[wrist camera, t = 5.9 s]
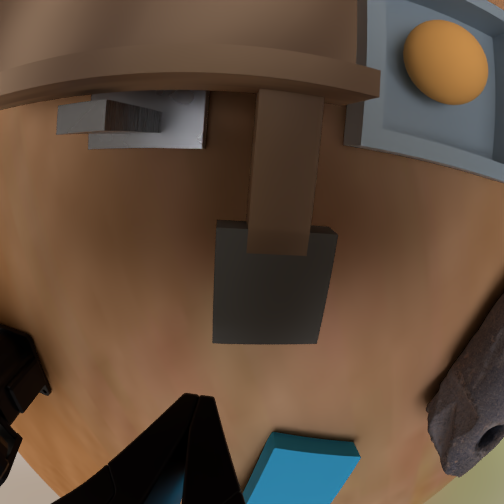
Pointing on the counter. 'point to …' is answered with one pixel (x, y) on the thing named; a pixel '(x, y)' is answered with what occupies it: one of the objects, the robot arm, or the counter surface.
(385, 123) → the bin
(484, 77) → the ball
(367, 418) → the counter surface
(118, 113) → the stand
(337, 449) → the blue piece
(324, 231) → the lever
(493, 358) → the perforated stone tool
